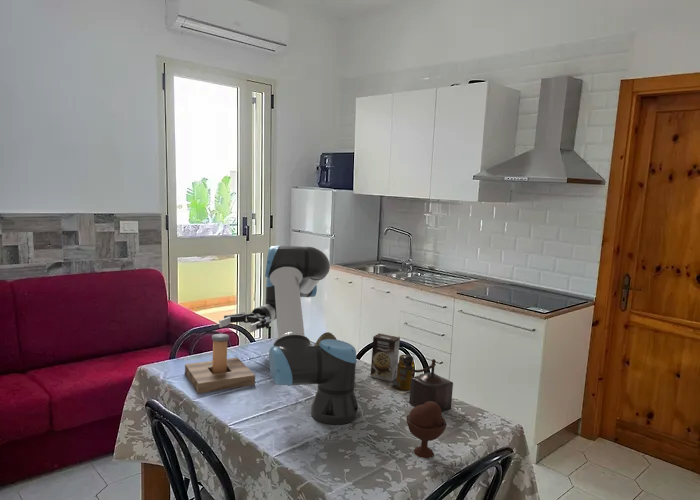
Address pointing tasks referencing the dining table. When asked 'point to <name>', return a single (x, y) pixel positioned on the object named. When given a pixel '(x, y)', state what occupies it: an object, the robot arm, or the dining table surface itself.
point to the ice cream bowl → (426, 426)
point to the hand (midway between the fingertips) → (235, 326)
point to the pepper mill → (428, 386)
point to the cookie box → (385, 357)
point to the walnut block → (219, 376)
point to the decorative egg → (325, 337)
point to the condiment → (402, 378)
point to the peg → (219, 353)
